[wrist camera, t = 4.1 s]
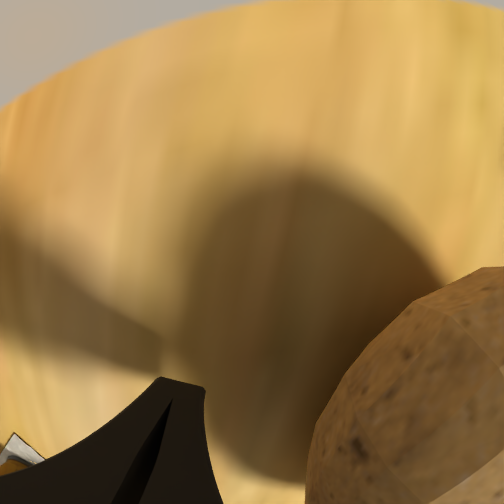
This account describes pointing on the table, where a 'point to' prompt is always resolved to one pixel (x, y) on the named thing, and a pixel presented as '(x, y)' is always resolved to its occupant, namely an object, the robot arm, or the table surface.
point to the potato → (420, 406)
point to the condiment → (17, 456)
